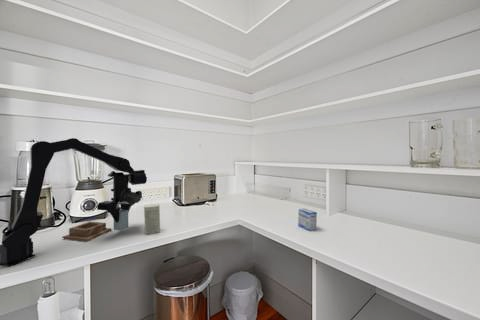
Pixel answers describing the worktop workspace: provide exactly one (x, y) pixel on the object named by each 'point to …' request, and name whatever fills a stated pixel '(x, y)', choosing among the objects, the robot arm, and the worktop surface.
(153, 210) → the skincare box
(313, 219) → the medicine box
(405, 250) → the worktop surface
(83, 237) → the walnut socket
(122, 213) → the slate peg
